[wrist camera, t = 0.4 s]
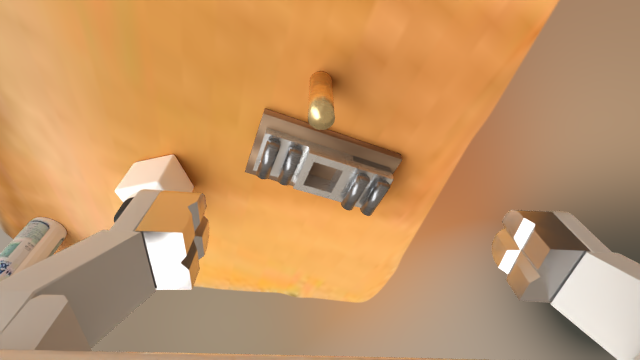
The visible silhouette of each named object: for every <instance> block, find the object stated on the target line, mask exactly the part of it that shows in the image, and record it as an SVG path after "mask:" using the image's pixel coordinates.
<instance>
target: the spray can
mask: <svg viewBox="0 0 640 360" xmlns="http://www.w3.org/2000/svg"><path fill="white" fill-rule="evenodd" d="M66 235H67V231H66V229H65V228H64V227H63V226H62V225H61V224H60V223H58V222H57V221H55V220H52V219H49V218H44V217H37V218H34V219H33V220H31V221H30V222H29V223H28V224H27V225H26V226H25V227H24V228H23V230H22V231H21V232H20V233H19V234H18V235H17V236H16V237H15V238H14V239H13V240H12V242H11V243H10V244H9V245H8V246H7V247H6V248H5V249H4V250H3V252H2V253H1V254H0V281H2V280H4V279H6V278H8V277H10V276H12V275H14V274H16V273H18V272H20V271H22V270H24V269H26V268H28V267H30V266H32V265H34V264H36V263H38V262H40V261H42V260H44V259H46V258H48V257H50V256H52V255H53V254H54V252H55V251H56V250H57V248H58V247H59V246H60V244H61V243H62V242H63V240H64V239H65V237H66Z"/></svg>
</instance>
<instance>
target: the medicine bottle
mask: <svg viewBox="0 0 640 360" xmlns="http://www.w3.org/2000/svg"><path fill="white" fill-rule="evenodd" d="M143 189H149V190H162V191H164V190H166V191H180V192H192V191H193V189H194V186H193V184H192V183H191V181H190V179H189V178H188V176H187V174H186V173H185V171H184V170H183V168H182V166H181V165H180V163H179V161H178V160H177V158H176V157H175V155H168V156H163V157H158V158H153V159H149V160H144V161H139V162H135V163H134V164H133V165H132V167H131V168H130V169H129V171H128V172H127V174H126V175H125V176H124V178H123V179H122V181H121V182H120V184H119V185H118V186H117V188H116V189H115V193H116V194H117V195H118V196H119V197H120V199H121V200H122V201H123V204H122V205H121V207H120V209H119V210H118V212H117V213H116V215H115V217H114V223H115V222H116V221H117V219H118V218H119V217H120V215H121V214H122V213H123V211H124V210H125V209H126V207H127V206H128V205H129V203H130V202H131V201H132V199H133V198H134V197H135V195H136V194H137V193H138V191H140V190H143Z"/></svg>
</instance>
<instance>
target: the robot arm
mask: <svg viewBox="0 0 640 360" xmlns="http://www.w3.org/2000/svg"><path fill="white" fill-rule="evenodd" d="M206 207H207V205H206V199H205V195H204V194H203V193H194V192H180V191H166V190H164V191H162V190H149V189H143V190H140V191H138V193H137V194H136V195H135V197H134V198H133V199H132V201H131V202H130V203H129V205H128V206H127V207H126V209H125V210H124V211H123V213H122V214H121V215H120V217H119V218H118V219H117V221H116V222H115V223H114V225H113V226H112V227H111V229H110V230H102V231H100V232H98V233H96V234H94V235H92V236H90V237H88V238H86V239H84V240H82V241H80V242H78V243H76V244H74V245H72V246H70V247H68V248H66V249H64V250H62V251H60V252H58V253H56V254H54V255H52V256H50V257H48V258H46V259H44V260H42V261H40V262H38V263H36V264H34V265H32V266H30V267H28V268H26V269H24V270H22V271H20V272H18V273H16V274H14V275H12V276H10V277H8V278H6V279H4V280H2V281H0V360H482V359H440V358H438V359H437V358H391V357H346V356H299V355H251V354H250V355H249V354H202V353H155V352H108V351H91V348H92V347H94V346H95V345H96V344H97V343H98V342H99V341H100V340H102V339H103V338H104V337H105V336H106V335H107V334H108V333H109V332H111V331H112V330H113V329H114V328H115V327H116V326H117V325H118V324H120V323H121V322H122V321H123V320H124V319H125V318H126V317H127V316H129V315H130V314H131V313H132V312H133V311H134V310H135V309H136V308H137V307H139V306H140V305H141V304H142V303H143V302H144V301H146V300H147V299H148V298H149V297H150V296H151V295H152V294H153V293H155V291H156V289H177V290H180V289H182V290H192V289H193V286H194V283H195V280H196V277H197V275H198V272H199V269H200V267H199V259H200V258H202V257H203V256H204V255H205V252H206V249H207V245H208V239H209V222H208V219H207V218H206V217H205V216H204V212H205V210H206ZM502 223H503V226H504V229H502V230H501V231H500V232H498V233H497V234H496V236H495V238H494V240H493V243H492V254H493V258H494V261H495V262H496V264H497V266H498V267H499V268H500V269H501V270H503V271H504V272H506V273H507V274H508V276H507V282H508V284H509V285H510V287H511V288H512V290H513V291H514V293H515V295H516V296H517V298H518V300H519V301H533V302H549V303H551V305H552V306H553V307H555V308H556V309H557V310H558V311H560V312H561V313H562V314H563V315H564V316H566V317H567V318H568V319H569V320H570V321H572V322H573V323H574V324H575V325H577V326H578V327H579V328H580V329H581V330H582V331H584V332H585V333H586V334H587V335H588V336H590V337H591V338H592V339H593V340H595V341H596V342H597V343H598V344H599V345H601V346H602V347H603V348H604V349H605V350H607V351H608V352H609V353H610V354H611V355H613V356H614V357H615V358H616V359H618V360H640V264H638V263H637V262H635V261H633V260H630V259H628V258H627V257H624V256H623V255H621V254H619V253H612V252H611V251H610V250H609V249H608V248H607V247H606V246H605V245H603V244H602V243H601V242H600V241H599V240H598V239H597V238H596V237H595V236H594V235H593V234H592V233H591V232H590V231H589V230H588V229H587V228H586V227H584V225H582V224H581V223H580V222H579V221H578V220H577V219H576V218H575V217H574V216H573V215H572V214H570V213H568V212H565V211H523V210H510V211H509V212H508V213H507V214H506V215H505V217H504V219H503V221H502ZM483 360H486V359H483Z"/></svg>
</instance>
